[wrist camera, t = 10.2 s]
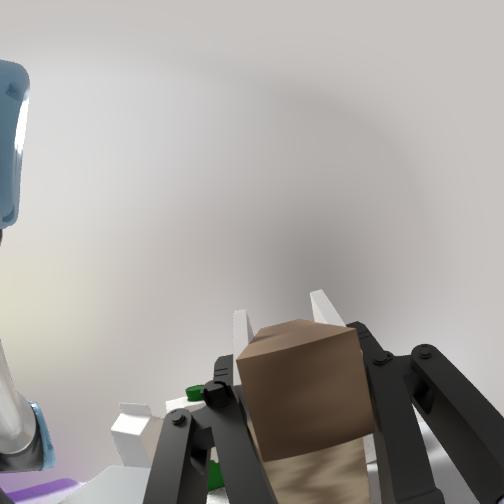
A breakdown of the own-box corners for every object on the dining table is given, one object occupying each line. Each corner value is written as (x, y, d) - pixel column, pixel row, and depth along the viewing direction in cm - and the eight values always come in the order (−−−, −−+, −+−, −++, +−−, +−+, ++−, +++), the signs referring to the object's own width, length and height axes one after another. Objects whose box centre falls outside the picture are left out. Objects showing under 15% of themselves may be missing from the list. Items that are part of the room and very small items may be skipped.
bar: (263, 462, 8) (235, 360, 9) (270, 365, 27) (261, 328, 28) (375, 432, 8) (356, 328, 9) (308, 356, 27) (299, 319, 28)
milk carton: (244, 482, 37) (215, 388, 42) (196, 496, 34) (161, 400, 38) (229, 465, 45) (203, 381, 50) (187, 477, 41) (158, 391, 46)
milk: (188, 539, 21) (131, 411, 26) (156, 529, 23) (101, 408, 28) (209, 518, 27) (163, 398, 32) (178, 511, 29) (133, 397, 34)
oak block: (276, 541, 20) (234, 413, 24) (277, 489, 33) (247, 381, 38) (371, 519, 19) (353, 384, 24) (348, 472, 33) (327, 362, 38)
